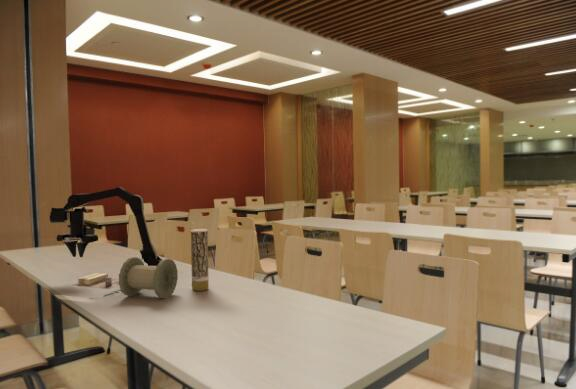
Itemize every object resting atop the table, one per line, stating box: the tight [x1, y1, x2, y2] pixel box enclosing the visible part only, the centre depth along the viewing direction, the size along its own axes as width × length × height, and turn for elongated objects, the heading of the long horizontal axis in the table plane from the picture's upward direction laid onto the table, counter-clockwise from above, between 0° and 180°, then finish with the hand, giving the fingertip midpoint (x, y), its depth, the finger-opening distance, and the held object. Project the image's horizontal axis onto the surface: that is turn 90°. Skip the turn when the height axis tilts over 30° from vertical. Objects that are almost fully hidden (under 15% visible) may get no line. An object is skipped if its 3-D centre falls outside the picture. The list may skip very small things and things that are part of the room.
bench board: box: [71, 272, 120, 289], centre depth 187 cm, size 20×15×5 cm
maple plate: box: [77, 272, 109, 285], centre depth 189 cm, size 6×11×2 cm, turn 160°
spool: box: [118, 256, 179, 300], centre depth 169 cm, size 16×15×15 cm
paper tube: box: [190, 228, 210, 292], centre depth 179 cm, size 7×7×25 cm
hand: (77, 257), depth 191 cm, fingers open, 4 cm apart
